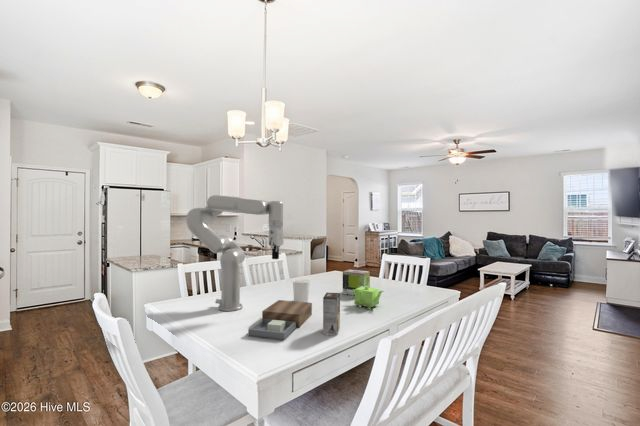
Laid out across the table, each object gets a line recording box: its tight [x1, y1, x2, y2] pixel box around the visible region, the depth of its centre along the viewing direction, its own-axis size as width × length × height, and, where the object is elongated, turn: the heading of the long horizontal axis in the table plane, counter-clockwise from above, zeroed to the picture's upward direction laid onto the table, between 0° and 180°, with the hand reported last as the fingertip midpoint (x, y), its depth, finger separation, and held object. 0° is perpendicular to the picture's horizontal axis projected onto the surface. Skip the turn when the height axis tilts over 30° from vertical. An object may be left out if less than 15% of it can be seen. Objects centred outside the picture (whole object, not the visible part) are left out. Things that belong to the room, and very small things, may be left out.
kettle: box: [351, 286, 385, 309], centre depth 183 cm, size 15×14×11 cm
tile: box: [267, 320, 286, 332], centre depth 144 cm, size 6×6×3 cm
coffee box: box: [322, 292, 341, 336], centre depth 144 cm, size 9×6×16 cm
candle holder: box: [292, 278, 311, 303], centre depth 192 cm, size 10×10×12 cm
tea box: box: [342, 269, 371, 296], centre depth 210 cm, size 15×10×15 cm, turn 58°
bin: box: [247, 318, 297, 341], centre depth 142 cm, size 16×14×3 cm
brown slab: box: [261, 299, 313, 329], centre depth 160 cm, size 18×20×6 cm
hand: (275, 258), depth 174 cm, fingers closed
